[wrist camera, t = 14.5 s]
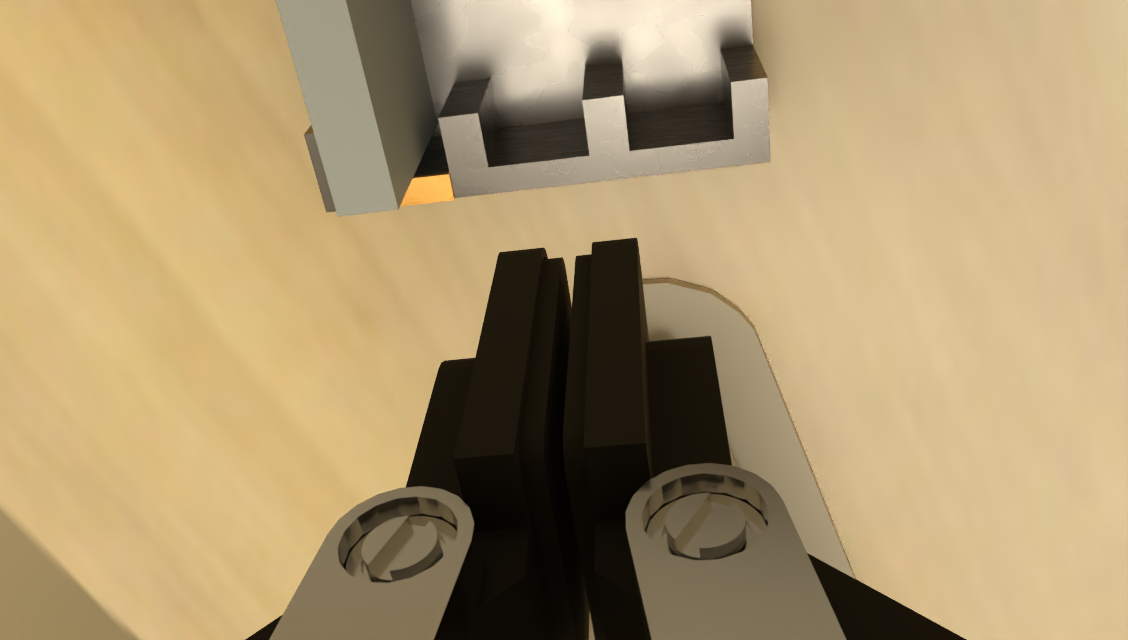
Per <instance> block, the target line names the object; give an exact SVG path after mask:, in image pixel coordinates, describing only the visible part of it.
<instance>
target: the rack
mask: <svg viewBox="0 0 1128 640" xmlns="http://www.w3.org/2000/svg"><path fill="white" fill-rule="evenodd" d="M410 1H411V5H412V10H413V15H414V19H415V24H416V28H417V33H418V37H419V42H420V47H421V51H422V56H423V60H424V65H425V69H426V74H427V79H428V83H429V88H430V92H431V97H432V101H433V106H434V111H435V115H436V120H437V126H436V128H435V130H434V132H433V134H432V137H431V139H430V141H429V143H428V146H427V148H426V150H425V152H424V154H423V157H422V159H421V161H420V163H419V165H418V168H417V170H416V172H415V174H414V176H413V179H412V181H411V183H410V185H409V187H408V190H407V192H406V194H405V196H404V198H403V201H402V203H401V205H400V206H407V205H416V204H424V203H433V202H442V201H451V200H454V199H455V198H458V197H467V196H476V195H485V194H494V193H502V192H511V191H520V190H529V189H538V188H547V187H555V186H564V185H573V184H582V183H591V182H600V181H608V180H617V179H626V178H635V177H644V176H653V175H662V174H670V173H679V172H688V171H697V170H706V169H715V168H723V167H732V166H741V165H750V164H759V163H768V162H770V136H769V108H768V79H767V76H766V73H765V71H764V69H763V67H762V64H761V62H760V60H759V58H758V55H757V53H756V51H755V49H754V46H753V38H752V14H751V0H410ZM304 136H305V139H306V143H307V146H308V150H309V153H310V157H311V160H312V164H313V167H314V171H315V174H316V178H317V181H318V185H319V188H320V192H321V195H322V199H323V202H324V205H325V209H326V212H335V211H336V209H335V205H334V202H333V198H332V195H331V191H330V188H329V184H328V181H327V177H326V174H325V170H324V167H323V163H322V160H321V156H320V153H319V149H318V146H317V142H316V139H315V135H314V132H313V128H312V125H311V126H310V127H309V129H308V130H307V131H306V133H305V134H304Z"/></svg>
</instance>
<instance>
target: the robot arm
mask: <svg viewBox="0 0 1128 640" xmlns="http://www.w3.org/2000/svg"><path fill="white" fill-rule="evenodd" d="M589 614H590V615H591V621H592V626H593V632H594V637H595V640H966V639H964V638H962V637H960V636H959V635H957V634H955V633H953V632H951V631H949V630H948V629H946V628H944V627H942V626H940V625H938V624H937V623H935V622H933V621H931V620H929V619H927V618H926V617H924V616H922V615H920V614H918V613H916V612H915V611H913V610H911V609H909V608H907V607H905V606H904V605H902V604H900V603H898V602H896V601H894V600H893V599H891V598H889V597H887V596H885V595H883V594H882V593H880V592H878V591H876V590H874V589H872V588H871V587H869V586H867V585H865V584H863V583H861V582H860V581H858V580H856V579H854V578H852V577H850V576H849V575H847V574H845V573H843V572H841V571H839V570H838V569H836V568H834V567H832V566H830V565H828V564H827V563H825V562H823V561H821V560H819V559H817V558H816V557H814V556H812V555H810V554H808V553H807V552H806V550H805V547H804V545H803V543H802V541H801V539H800V536H799V534H798V532H797V530H796V528H795V525H794V523H793V521H792V519H791V517H790V514H789V512H788V510H787V508H786V506H785V503H784V501H783V500H782V498H781V497H780V495H779V494H778V493H777V491H776V490H775V489H774V487H773V486H772V485H771V484H770V483H768V482H767V481H765V480H764V479H762V478H761V477H760V476H758V475H757V474H755V473H752V472H750V471H747V470H744V469H741V468H739V467H736V466H732V461H731V455H730V449H729V443H728V437H727V430H726V424H725V418H724V412H723V406H722V399H721V393H720V387H719V381H718V375H717V368H716V362H715V356H714V350H713V344H712V338H711V336H701V337H690V338H680V339H669V340H659V341H649V335H648V326H647V318H646V309H645V300H644V291H643V282H642V273H641V265H640V256H639V247H638V240H637V238H630V239H621V240H611V241H602V242H593V243H592V254H591V255H582V256H576V261H575V274H574V288H573V302H572V306H571V300H570V293H569V287H568V281H567V274H566V268H565V263H564V260H563V258H553V259H548V257H547V253H546V250H545V248H536V249H527V250H517V251H508V252H500V253H499V255H498V259H497V264H496V268H495V273H494V277H493V282H492V286H491V291H490V295H489V300H488V304H487V309H486V313H485V318H484V322H483V327H482V331H481V336H480V340H479V345H478V349H477V354H476V358H469V359H458V360H448V361H444V362H442V363H441V365H440V367H439V370H438V373H437V377H436V380H435V384H434V387H433V391H432V395H431V398H430V402H429V406H428V409H427V413H426V416H425V420H424V424H423V427H422V431H421V434H420V438H419V442H418V445H417V449H416V453H415V456H414V460H413V463H412V467H411V471H410V474H409V478H408V481H407V485H406V488H399V489H395V490H392V491H388V492H385V493H381V494H378V495H376V496H374V497H372V498H370V499H368V500H366V501H364V502H362V503H360V504H358V505H356V506H355V507H354V508H353V509H351V510H350V511H349V512H348V513H346V514H345V515H344V516H343V517H341V518H340V519H339V520H338V522H337V523H336V524H335V526H334V527H333V528H332V529H331V531H330V532H329V533H328V535H327V536H326V538H325V540H324V542H323V544H322V545H321V547H320V549H319V551H318V553H317V554H316V556H315V558H314V560H313V562H312V563H311V565H310V567H309V569H308V571H307V572H306V574H305V576H304V578H303V580H302V581H301V583H300V585H299V587H298V589H297V590H296V592H295V594H294V596H293V598H292V599H291V601H290V603H289V605H288V607H287V608H286V610H285V612H284V614H283V615H282V616H280V617H279V618H277V619H276V620H274V621H273V622H271V623H270V624H268V625H267V626H265V627H264V628H262V629H261V630H259V631H258V632H256V633H255V634H253V635H252V636H250V637H249V638H247V639H246V640H589Z"/></svg>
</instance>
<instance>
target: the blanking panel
mask: <svg viewBox="0 0 1128 640" xmlns="http://www.w3.org/2000/svg"><path fill="white" fill-rule="evenodd" d="M276 3H277V6H278V10H279V13H280V17H281V20H282V24H283V27H284V31H285V34H286V38H287V41H288V45H289V48H290V52H291V55H292V59H293V62H294V66H295V69H296V73H297V76H298V80H299V83H300V87H301V90H302V94H303V97H304V101H305V104H306V108H307V111H308V114H309V118H310V121H311V125H312V128H313V132H314V135H315V139H316V142H317V146H318V149H319V153H320V156H321V160H322V163H323V167H324V170H325V174H326V177H327V181H328V184H329V188H330V191H331V195H332V198H333V202H334V205H335V209H336V212H337V216H338V217H340V216H349V215H357V214H366V213H374V212H383V211H392V210H398V209H399V207H400V205H401V203H402V201H403V198H404V196H405V194H406V192H407V190H408V187H409V185H410V183H411V181H412V179H413V176H414V174H415V172H416V170H417V168H418V165H419V163H420V161H421V159H422V157H423V154H424V152H425V150H426V148H427V146H428V143H429V141H430V139H431V137H432V134H433V132H434V130H435V128H436V126H437V120H436V115H435V111H434V106H433V101H432V97H431V92H430V88H429V83H428V79H427V74H426V69H425V65H424V60H423V56H422V51H421V47H420V42H419V37H418V33H417V28H416V24H415V19H414V15H413V10H412V5H411V1H410V0H276Z"/></svg>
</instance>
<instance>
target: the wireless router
mask: <svg viewBox="0 0 1128 640" xmlns="http://www.w3.org/2000/svg"><path fill="white" fill-rule="evenodd" d="M642 282H643V291H644V300H645V309H646V318H647V326H648V335H649V341H659V340H669V339H680V338H690V337H701V336H711V338H712V344H713V350H714V356H715V362H716V368H717V375H718V381H719V387H720V393H721V399H722V406H723V412H724V418H725V424H726V430H727V437H728V443H729V449H730V455H731V461H732V466H736V467H739V468H741V469H744V470H747V471H750V472H752V473H755V474H757V475H758V476H760V477H761V478H762V479H764V480H765V481H767V482H768V483H770V484H771V485H772V486H773V487H774V489H775V490H776V491H777V493H778V494H779V495H780V497H781V498H782V500H783V501H784V503H785V506H786V508H787V510H788V512H789V514H790V517H791V519H792V521H793V523H794V525H795V528H796V530H797V532H798V534H799V536H800V539H801V541H802V543H803V545H804V547H805V550H806V552H807V553H808V554H810V555H812V556H814V557H816V558H817V559H819V560H821V561H823V562H825V563H827V564H828V565H830V566H832V567H834V568H836V569H838V570H839V571H841V572H843V573H845V574H847V575H849V576H850V577H852V578H854V579H855V577H854V574H853V572H852V569H851V567H850V564H849V562H848V559H847V557H846V554H845V552H844V549H843V547H842V544H841V542H840V539H839V537H838V534H837V532H836V529H835V527H834V524H833V522H832V519H831V517H830V514H829V512H828V509H827V507H826V504H825V502H824V499H823V497H822V494H821V492H820V489H819V487H818V484H817V482H816V479H815V477H814V474H813V472H812V469H811V467H810V464H809V462H808V459H807V457H806V454H805V452H804V449H803V447H802V444H801V442H800V439H799V437H798V434H797V432H796V429H795V427H794V424H793V422H792V419H791V417H790V414H789V412H788V409H787V407H786V404H785V402H784V399H783V397H782V395H781V392H780V390H779V387H778V385H777V382H776V380H775V377H774V375H773V372H772V370H771V367H770V365H769V362H768V360H767V357H766V355H765V352H764V350H763V347H762V345H761V342H760V340H759V337H758V335H757V332H756V330H755V327H754V326H753V325H752V324H751V322H750V321H749V320H748V319H747V318H746V316H745V315H744V314H743V313H742V312H741V310H740V309H739V308H738V307H737V306H735V305H734V304H733V303H731V302H730V301H728V300H727V299H725V298H724V297H723V296H721V295H720V294H718V293H717V292H715V291H714V290H712V289H708V288H705V287H701V286H698V285H694V284H691V283H687V282H683V281H680V280H676V279H672V278H661V279H647V280H642ZM589 640H595V637H594V632H593V626H592V621H591V615H590V614H589Z"/></svg>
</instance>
